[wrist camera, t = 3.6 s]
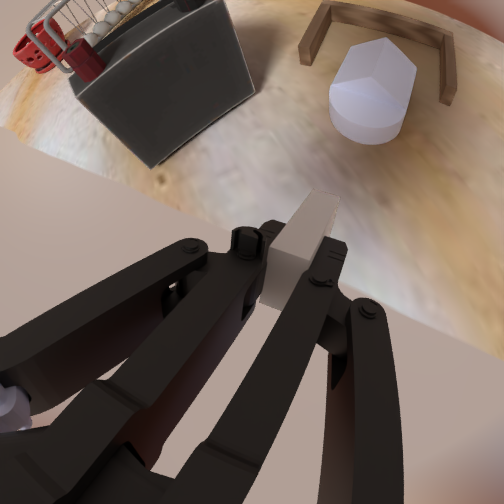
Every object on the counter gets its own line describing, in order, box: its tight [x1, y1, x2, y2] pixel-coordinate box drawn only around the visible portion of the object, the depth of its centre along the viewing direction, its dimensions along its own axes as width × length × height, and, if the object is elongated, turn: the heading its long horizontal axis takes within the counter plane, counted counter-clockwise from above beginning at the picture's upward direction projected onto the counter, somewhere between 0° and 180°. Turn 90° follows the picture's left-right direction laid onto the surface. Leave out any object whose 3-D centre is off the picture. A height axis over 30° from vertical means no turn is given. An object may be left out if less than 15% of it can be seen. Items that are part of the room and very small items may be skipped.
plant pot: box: [13, 18, 70, 74], centre depth 49 cm, size 13×13×12 cm
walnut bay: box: [298, 0, 457, 106], centre depth 33 cm, size 21×14×4 cm
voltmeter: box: [62, 0, 255, 170], centre depth 29 cm, size 16×16×20 cm
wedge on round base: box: [329, 37, 417, 145], centre depth 29 cm, size 9×7×13 cm
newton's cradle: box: [26, 0, 160, 73], centre depth 41 cm, size 30×10×18 cm, turn 152°
